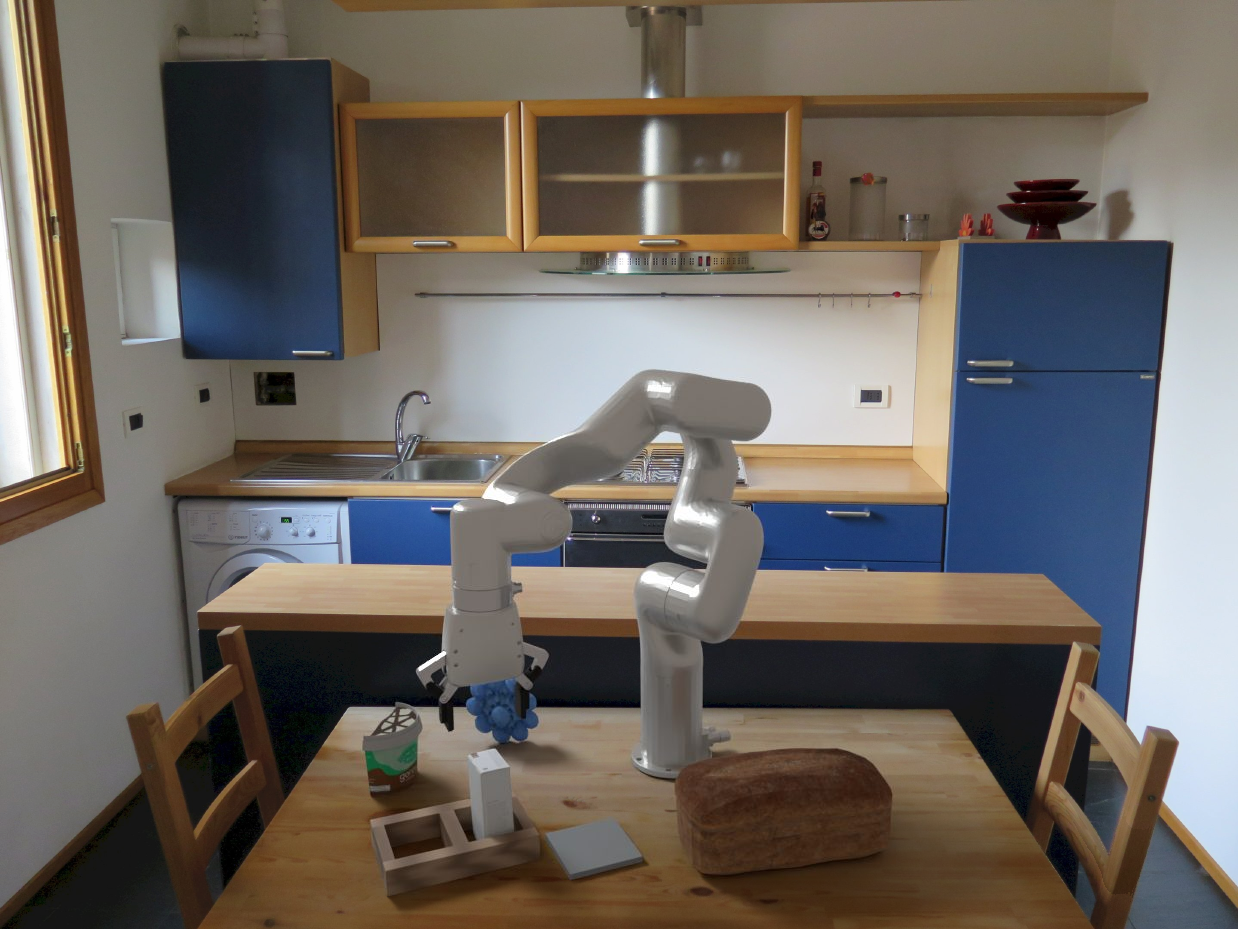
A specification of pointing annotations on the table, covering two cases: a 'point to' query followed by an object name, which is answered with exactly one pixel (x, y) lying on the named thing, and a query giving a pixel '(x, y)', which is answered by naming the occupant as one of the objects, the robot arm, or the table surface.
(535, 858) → the board
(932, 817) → the table surface
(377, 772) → the food container
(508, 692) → the blue knobbed wheel
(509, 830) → the skincare box
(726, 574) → the robot arm
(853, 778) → the bread
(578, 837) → the mat
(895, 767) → the table surface
